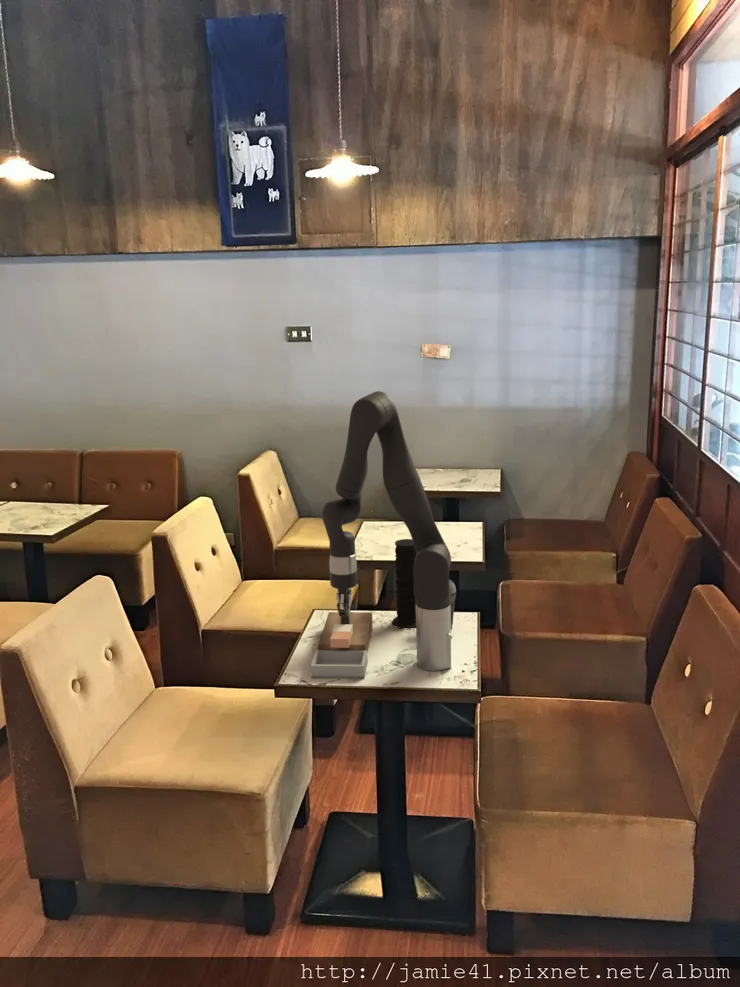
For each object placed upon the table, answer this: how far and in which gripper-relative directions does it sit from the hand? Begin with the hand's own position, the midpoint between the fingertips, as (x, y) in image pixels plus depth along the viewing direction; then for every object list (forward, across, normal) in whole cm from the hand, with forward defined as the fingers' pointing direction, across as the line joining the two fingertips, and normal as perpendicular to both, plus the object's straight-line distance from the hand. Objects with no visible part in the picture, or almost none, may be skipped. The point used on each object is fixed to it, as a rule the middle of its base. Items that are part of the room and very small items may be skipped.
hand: (345, 626), depth 232 cm
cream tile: (+1, -4, 0) cm, 4 cm away
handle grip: (+6, +18, -17) cm, 25 cm away
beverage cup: (+6, +14, -28) cm, 32 cm away
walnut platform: (+6, +2, 0) cm, 6 cm away
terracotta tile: (+1, -9, 0) cm, 9 cm away
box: (+6, -15, 0) cm, 16 cm away
